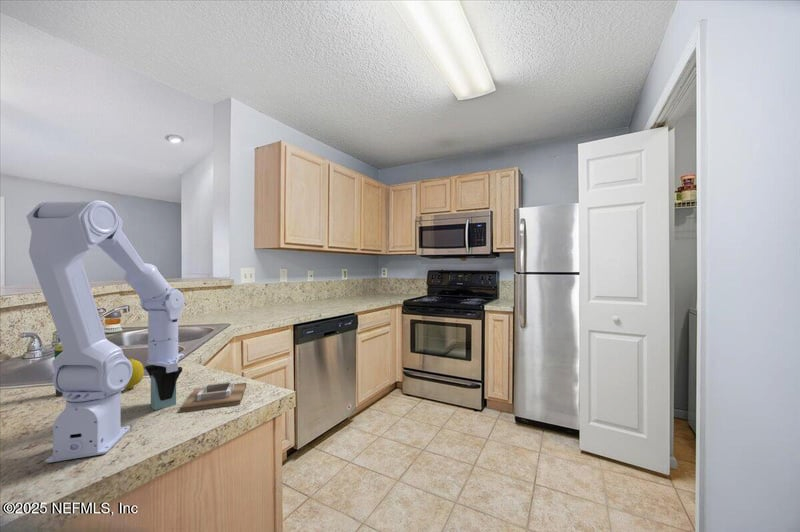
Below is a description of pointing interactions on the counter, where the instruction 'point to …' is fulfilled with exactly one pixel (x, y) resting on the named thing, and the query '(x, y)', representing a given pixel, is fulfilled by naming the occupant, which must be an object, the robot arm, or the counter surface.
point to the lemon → (135, 373)
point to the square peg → (155, 398)
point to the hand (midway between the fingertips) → (163, 396)
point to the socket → (214, 396)
